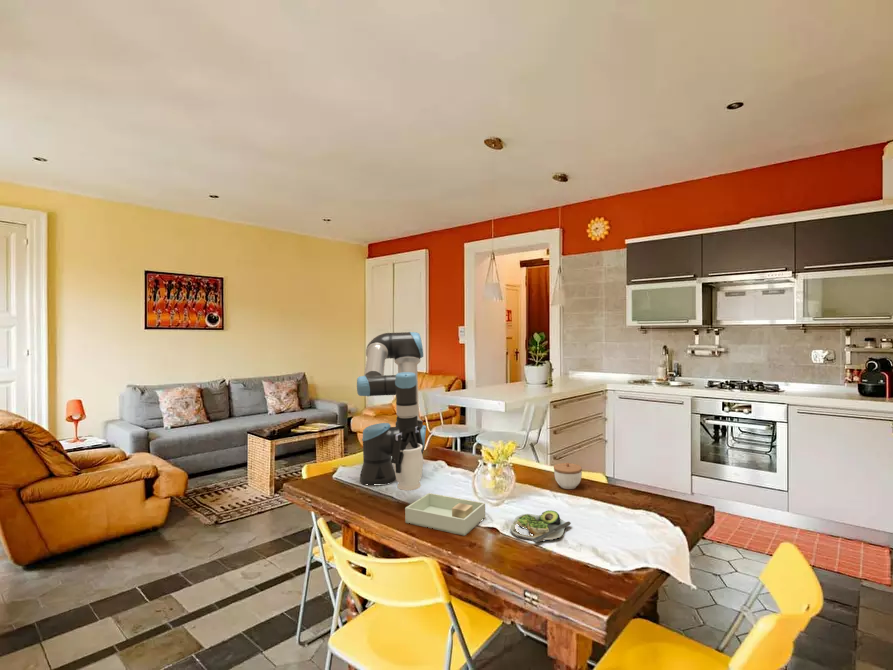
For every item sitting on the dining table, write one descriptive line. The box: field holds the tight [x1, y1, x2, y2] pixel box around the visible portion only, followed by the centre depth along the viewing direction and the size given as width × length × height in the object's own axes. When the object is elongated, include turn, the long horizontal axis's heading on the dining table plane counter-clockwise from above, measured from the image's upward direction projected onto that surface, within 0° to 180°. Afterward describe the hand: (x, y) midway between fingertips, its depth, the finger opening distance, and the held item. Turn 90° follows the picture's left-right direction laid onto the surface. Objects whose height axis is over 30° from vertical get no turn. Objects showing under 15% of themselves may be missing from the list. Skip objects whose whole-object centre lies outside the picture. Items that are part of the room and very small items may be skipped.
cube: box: [452, 503, 473, 519], centre depth 161 cm, size 5×5×5 cm
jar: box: [393, 443, 424, 492], centre depth 177 cm, size 11×10×15 cm
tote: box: [404, 492, 486, 537], centre depth 164 cm, size 15×22×5 cm
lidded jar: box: [553, 462, 583, 490], centre depth 193 cm, size 11×11×9 cm
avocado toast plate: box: [509, 509, 572, 543], centre depth 154 cm, size 19×18×5 cm
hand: (408, 476), depth 178 cm, fingers closed on jar, 10 cm apart
